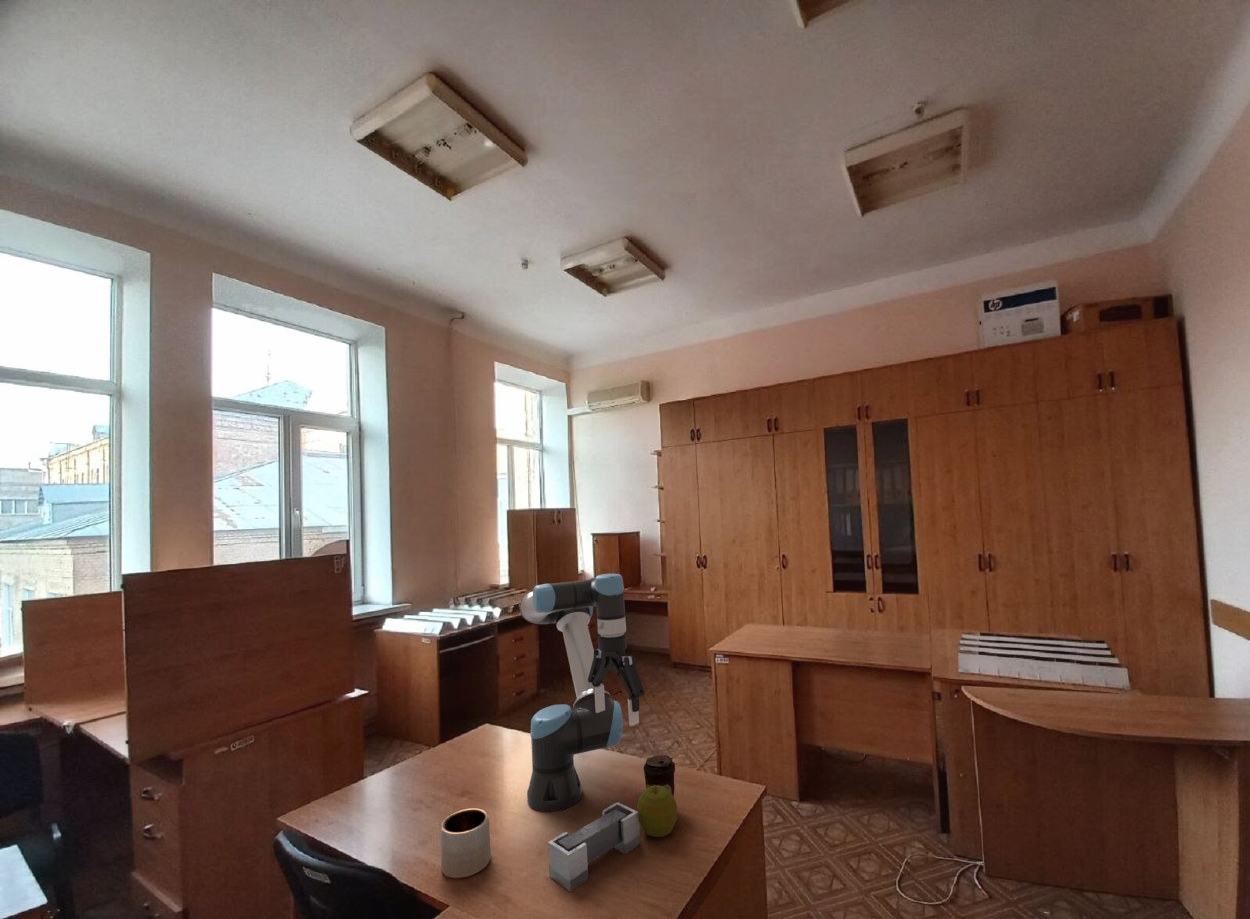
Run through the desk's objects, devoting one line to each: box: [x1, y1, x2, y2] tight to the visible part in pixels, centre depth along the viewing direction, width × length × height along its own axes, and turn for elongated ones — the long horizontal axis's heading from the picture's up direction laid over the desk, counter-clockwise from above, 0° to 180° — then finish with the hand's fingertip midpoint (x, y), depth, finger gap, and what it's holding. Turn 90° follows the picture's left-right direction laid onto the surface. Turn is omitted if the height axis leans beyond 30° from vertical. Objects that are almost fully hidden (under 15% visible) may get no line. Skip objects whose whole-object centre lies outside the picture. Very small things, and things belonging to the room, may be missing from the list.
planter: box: [440, 807, 492, 879], centre depth 122 cm, size 11×11×10 cm
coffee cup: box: [643, 754, 676, 798], centre depth 138 cm, size 9×8×13 cm
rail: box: [558, 809, 627, 864], centre depth 120 cm, size 4×17×5 cm, turn 133°
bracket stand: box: [547, 801, 641, 892], centre depth 120 cm, size 7×21×7 cm, turn 134°
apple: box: [636, 785, 678, 838], centre depth 129 cm, size 10×10×11 cm
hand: (616, 717), depth 138 cm, fingers open, 13 cm apart
